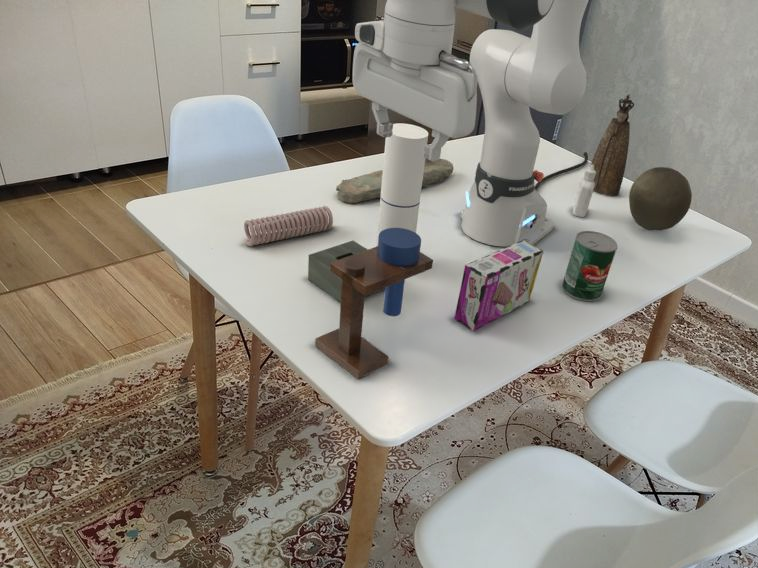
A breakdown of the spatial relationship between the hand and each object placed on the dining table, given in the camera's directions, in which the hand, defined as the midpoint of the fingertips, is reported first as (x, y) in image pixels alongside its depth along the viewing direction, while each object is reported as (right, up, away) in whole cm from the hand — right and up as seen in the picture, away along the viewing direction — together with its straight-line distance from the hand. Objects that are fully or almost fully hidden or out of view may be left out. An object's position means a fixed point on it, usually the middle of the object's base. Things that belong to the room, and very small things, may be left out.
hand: (407, 147), depth 92 cm
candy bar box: (+9, -20, +17) cm, 28 cm away
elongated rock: (-8, +10, +63) cm, 64 cm away
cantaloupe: (+52, 0, +65) cm, 83 cm away
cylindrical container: (-6, -11, +35) cm, 37 cm away
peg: (-3, -22, +11) cm, 25 cm away
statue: (+44, +14, +81) cm, 93 cm away
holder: (-13, -17, +25) cm, 33 cm away
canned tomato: (+31, -17, +37) cm, 51 cm away
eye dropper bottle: (+36, +5, +67) cm, 76 cm away
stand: (-7, -28, +12) cm, 31 cm away
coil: (-26, -6, +35) cm, 44 cm away
